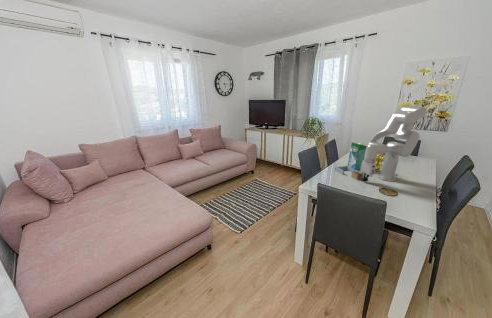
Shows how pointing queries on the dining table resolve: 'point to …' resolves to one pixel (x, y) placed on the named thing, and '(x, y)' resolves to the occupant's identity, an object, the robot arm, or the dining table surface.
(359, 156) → the milk carton
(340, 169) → the bay
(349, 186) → the dining table surface
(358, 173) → the block
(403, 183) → the dining table surface
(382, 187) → the dining table surface
